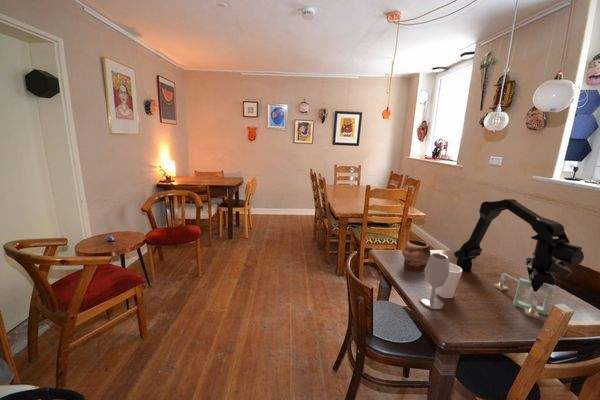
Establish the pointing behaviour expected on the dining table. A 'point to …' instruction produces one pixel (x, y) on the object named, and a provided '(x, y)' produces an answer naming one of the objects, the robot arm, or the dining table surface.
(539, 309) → the mint green frame
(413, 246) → the decorative planter
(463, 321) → the dining table surface
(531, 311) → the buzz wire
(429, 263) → the wineglass
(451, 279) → the foam cup
